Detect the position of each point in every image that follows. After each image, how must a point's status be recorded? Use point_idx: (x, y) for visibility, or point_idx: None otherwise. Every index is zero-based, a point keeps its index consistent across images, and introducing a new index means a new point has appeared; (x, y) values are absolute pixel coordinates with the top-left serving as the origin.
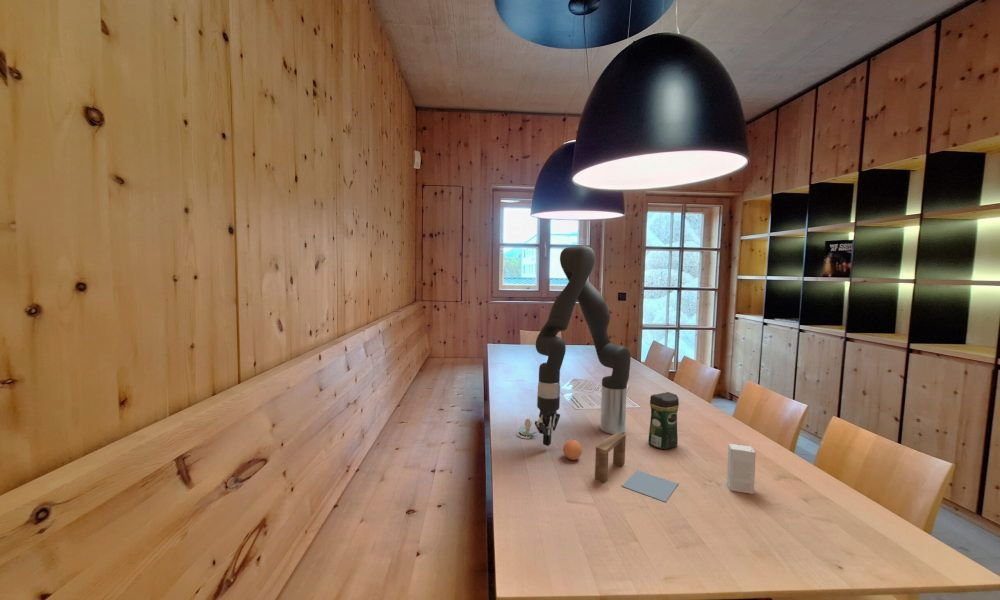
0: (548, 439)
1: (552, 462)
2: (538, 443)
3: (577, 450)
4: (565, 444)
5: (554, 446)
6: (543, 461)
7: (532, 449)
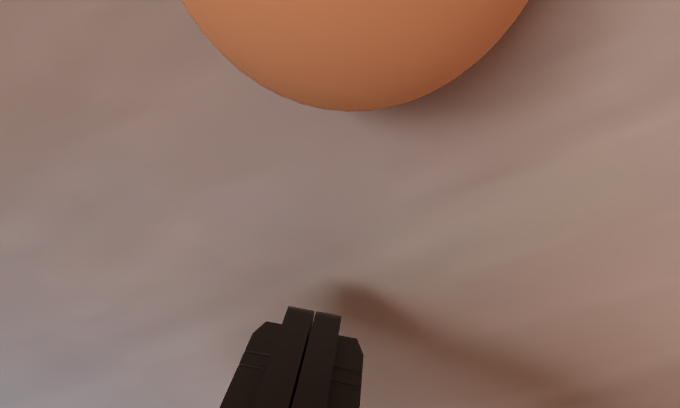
0: (329, 380)
1: (583, 146)
2: None
3: None
4: (448, 53)
5: (189, 257)
6: (593, 238)
7: (375, 389)
